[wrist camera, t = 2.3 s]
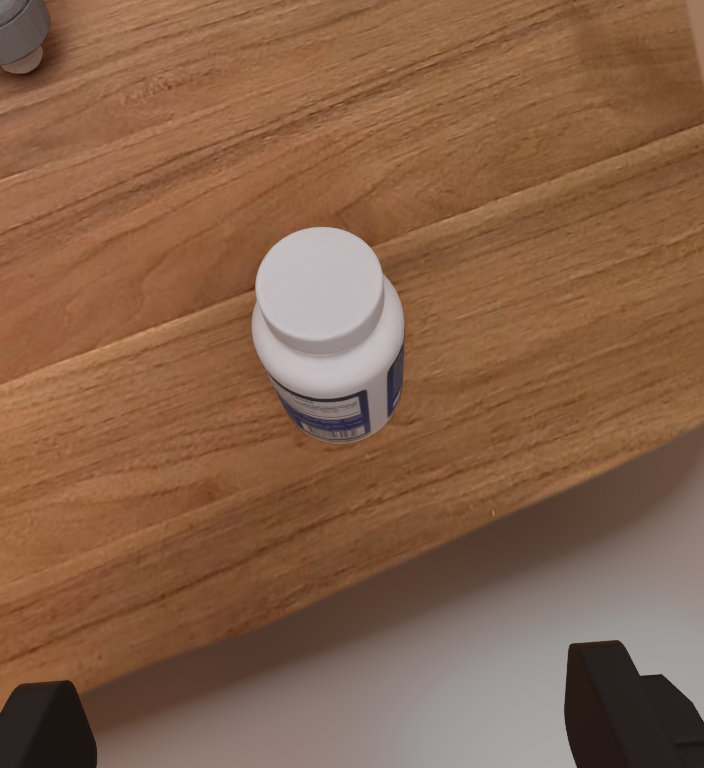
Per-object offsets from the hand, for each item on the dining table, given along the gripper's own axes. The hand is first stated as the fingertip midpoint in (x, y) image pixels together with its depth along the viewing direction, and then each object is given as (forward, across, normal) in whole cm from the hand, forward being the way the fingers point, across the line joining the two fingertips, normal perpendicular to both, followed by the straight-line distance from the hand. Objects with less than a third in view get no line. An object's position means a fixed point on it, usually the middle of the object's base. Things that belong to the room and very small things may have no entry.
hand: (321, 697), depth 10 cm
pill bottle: (+19, 0, +3) cm, 19 cm away
